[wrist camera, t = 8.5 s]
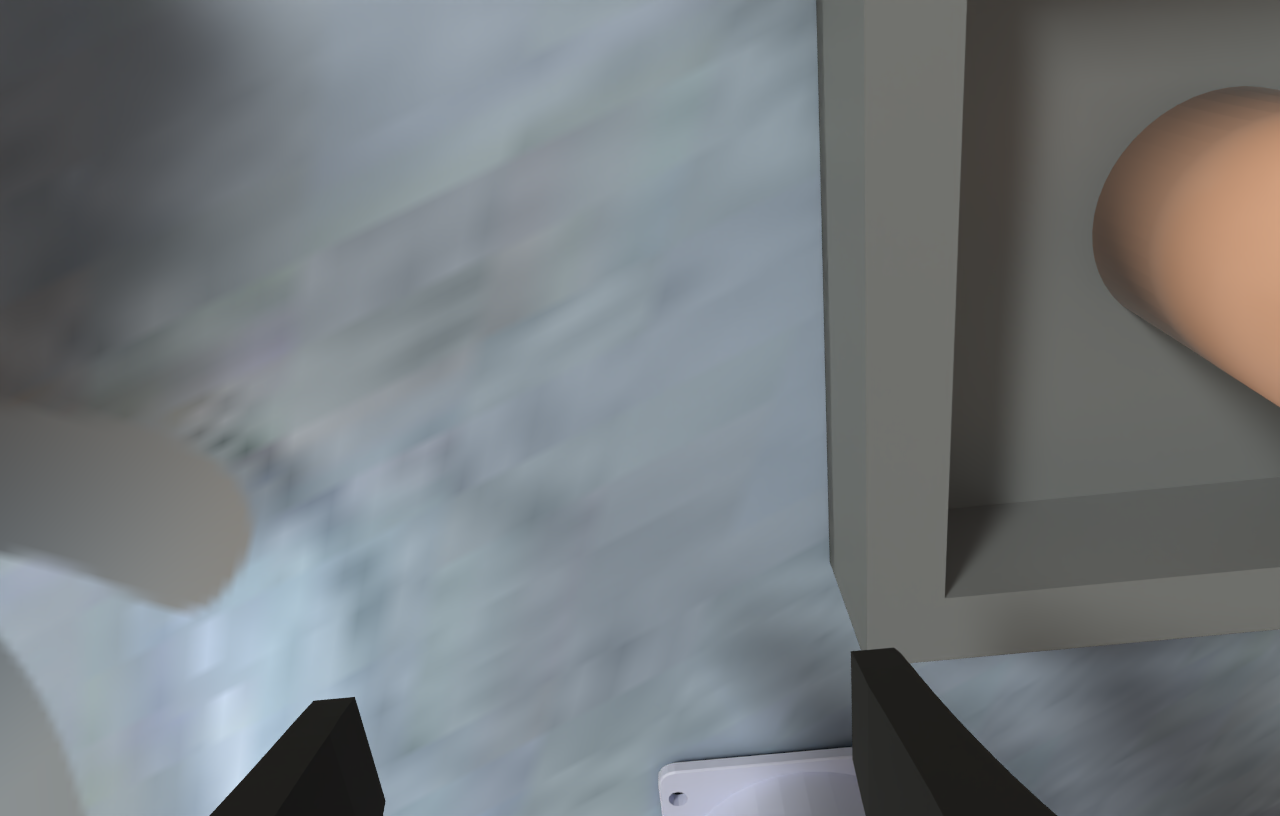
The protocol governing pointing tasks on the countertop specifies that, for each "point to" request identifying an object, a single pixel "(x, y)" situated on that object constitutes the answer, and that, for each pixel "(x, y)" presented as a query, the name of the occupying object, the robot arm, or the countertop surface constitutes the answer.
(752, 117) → the countertop surface
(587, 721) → the countertop surface
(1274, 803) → the countertop surface
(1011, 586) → the bin
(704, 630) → the countertop surface
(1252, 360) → the peach rounded cylinder
